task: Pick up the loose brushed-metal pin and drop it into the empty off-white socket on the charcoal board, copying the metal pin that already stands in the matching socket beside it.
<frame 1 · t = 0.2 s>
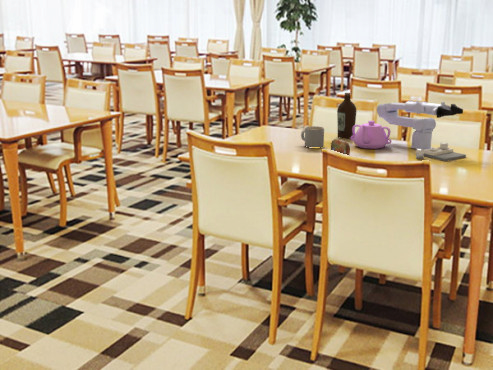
hand: (457, 112, 293), 21 cm above the table, tool horizontal, fingers open, 7 cm apart
teapot: (369, 148, 318), on the table
pin: (419, 158, 294), on the table
mottled brown rounded slab: (340, 157, 298), on the table
olive oil: (345, 137, 346), on the table
layout board: (442, 156, 298), on the table
coffee mug: (311, 146, 323), on the table
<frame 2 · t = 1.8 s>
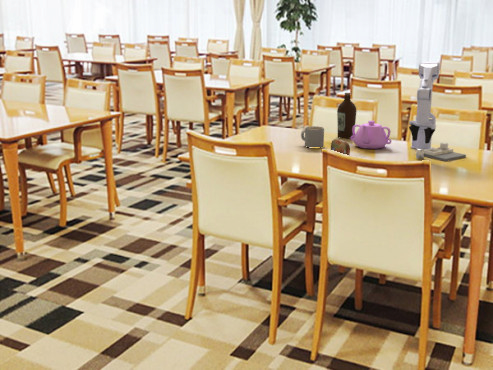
hand: (421, 141, 292), 8 cm above the table, tool pointing down, fingers open, 7 cm apart
nothing on the table moved.
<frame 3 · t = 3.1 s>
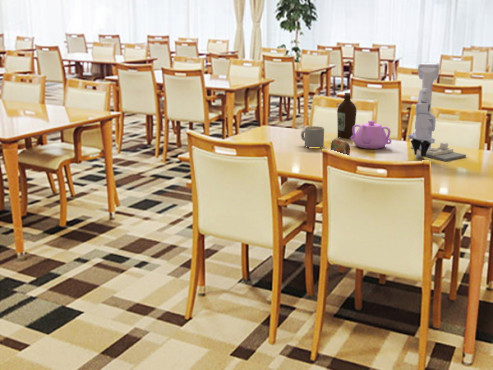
hand: (420, 155, 293), 1 cm above the table, tool pointing down, fingers closed on pin, 4 cm apart
pin: (419, 158, 294), on the table, touching gripper
everything else where it was.
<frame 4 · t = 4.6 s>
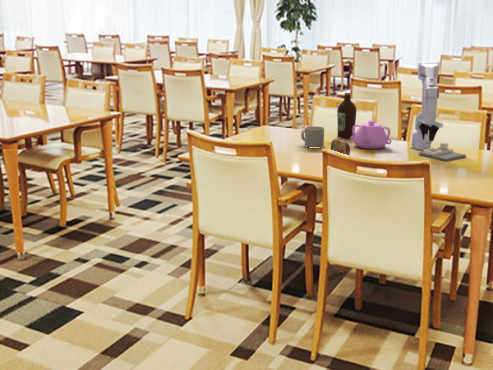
hand: (428, 140, 294), 8 cm above the table, tool pointing down, fingers closed on pin, 4 cm apart
pin: (427, 143, 295), point 7 cm above the table, touching gripper
everything else where it was.
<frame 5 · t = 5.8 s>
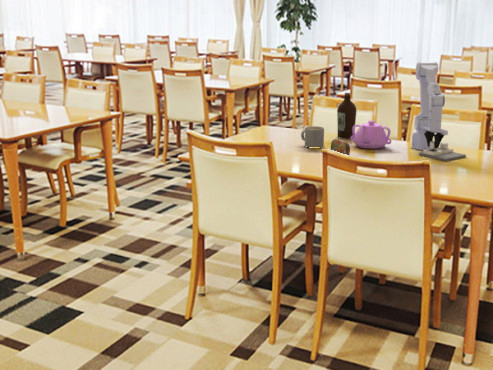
hand: (433, 147, 297), 4 cm above the table, tool pointing down, fingers closed on pin, 4 cm apart
pin: (432, 150, 298), point 3 cm above the table, touching gripper
everything else where it was.
when the fingers open (4 cm above the table, at t = 6.4 s): pin stays where it is, resting on layout board.
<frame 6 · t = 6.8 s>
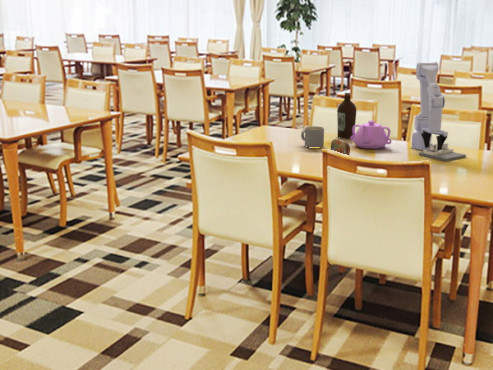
hand: (433, 148, 298), 4 cm above the table, tool pointing down, fingers open, 7 cm apart
pin: (432, 153, 298), point 1 cm above the table, touching layout board
everything else where it was.
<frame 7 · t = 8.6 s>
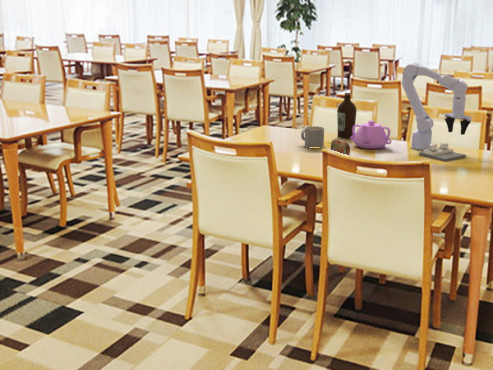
hand: (456, 133, 305), 9 cm above the table, tool pointing down, fingers open, 7 cm apart
nothing on the table moved.
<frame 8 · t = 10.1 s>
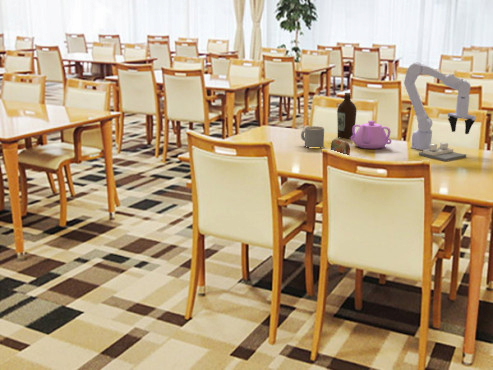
hand: (460, 132, 306), 9 cm above the table, tool pointing down, fingers open, 7 cm apart
nothing on the table moved.
at the end: pin 0.0 cm from the target spot on the layout board, point 1.2 cm above the layout board's base; pin tilted 0°; the gripper is holding nothing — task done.
